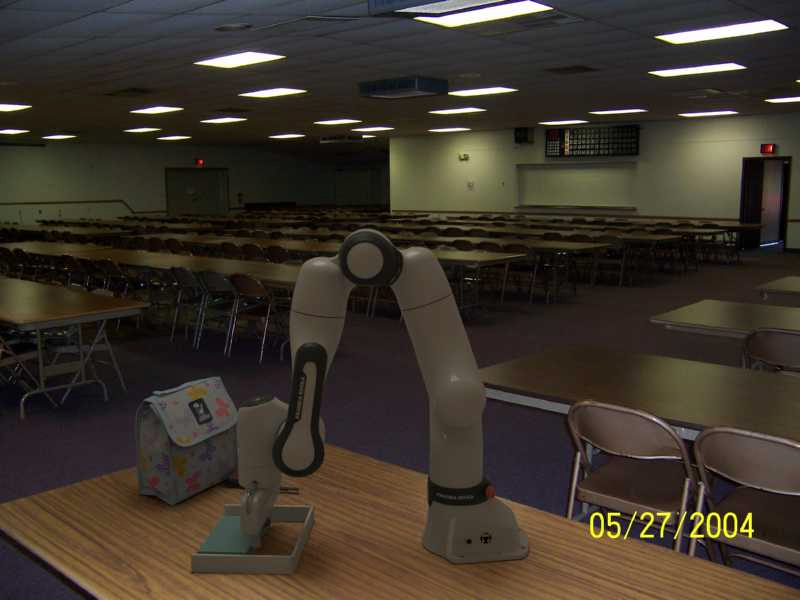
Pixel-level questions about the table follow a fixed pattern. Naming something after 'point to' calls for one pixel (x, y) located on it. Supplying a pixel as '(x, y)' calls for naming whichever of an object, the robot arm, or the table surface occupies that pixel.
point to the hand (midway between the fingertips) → (261, 535)
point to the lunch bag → (186, 440)
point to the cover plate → (228, 538)
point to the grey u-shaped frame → (259, 562)
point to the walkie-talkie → (234, 483)
